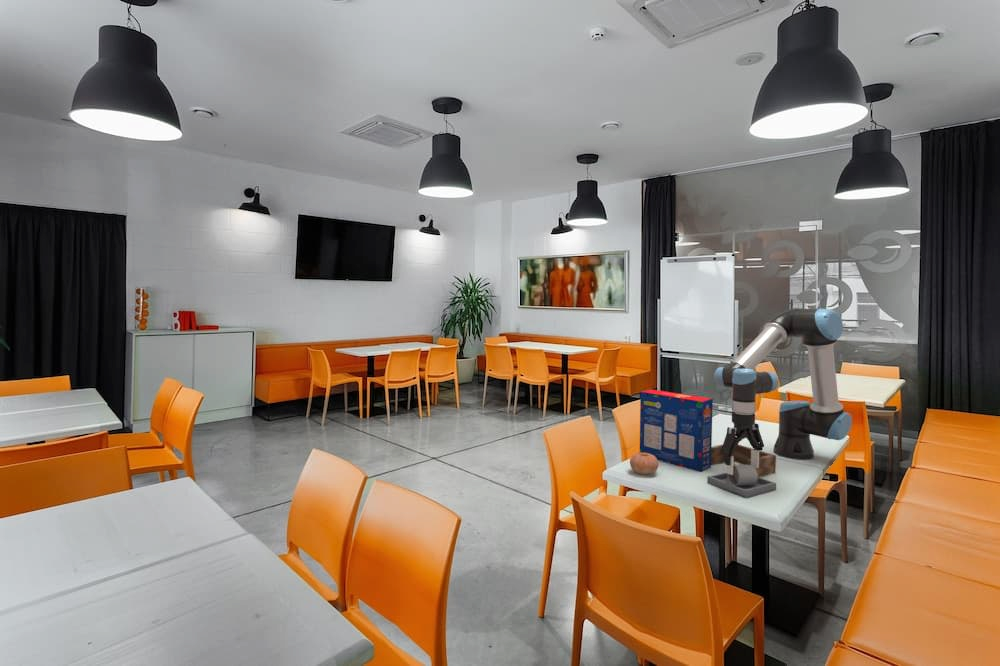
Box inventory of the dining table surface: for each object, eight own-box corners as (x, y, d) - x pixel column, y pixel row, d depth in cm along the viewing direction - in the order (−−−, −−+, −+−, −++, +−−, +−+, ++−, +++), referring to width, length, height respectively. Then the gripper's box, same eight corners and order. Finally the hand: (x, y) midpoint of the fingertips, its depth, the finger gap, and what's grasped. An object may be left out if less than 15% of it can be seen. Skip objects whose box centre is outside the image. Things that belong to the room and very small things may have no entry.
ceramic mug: (760, 488, 180) (760, 466, 179) (738, 489, 179) (739, 467, 178) (741, 478, 190) (742, 458, 190) (721, 479, 189) (721, 459, 189)
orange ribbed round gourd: (624, 470, 201) (624, 450, 200) (646, 467, 205) (647, 447, 204) (640, 479, 191) (641, 458, 190) (664, 475, 195) (664, 455, 194)
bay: (731, 459, 214) (732, 442, 214) (775, 473, 197) (776, 455, 196) (707, 464, 208) (707, 447, 207) (749, 479, 190) (750, 461, 190)
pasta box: (710, 467, 204) (712, 398, 202) (700, 472, 199) (702, 401, 197) (650, 451, 225) (651, 389, 223) (639, 455, 220) (640, 391, 218)
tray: (736, 475, 194) (737, 469, 194) (776, 490, 180) (776, 483, 180) (707, 483, 187) (707, 476, 187) (745, 498, 173) (746, 491, 172)
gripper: (757, 406, 190) (755, 461, 192) (710, 414, 179) (709, 473, 181) (775, 410, 184) (774, 467, 185) (728, 418, 172) (727, 479, 174)
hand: (742, 470), depth 183 cm, fingers open, 13 cm apart
